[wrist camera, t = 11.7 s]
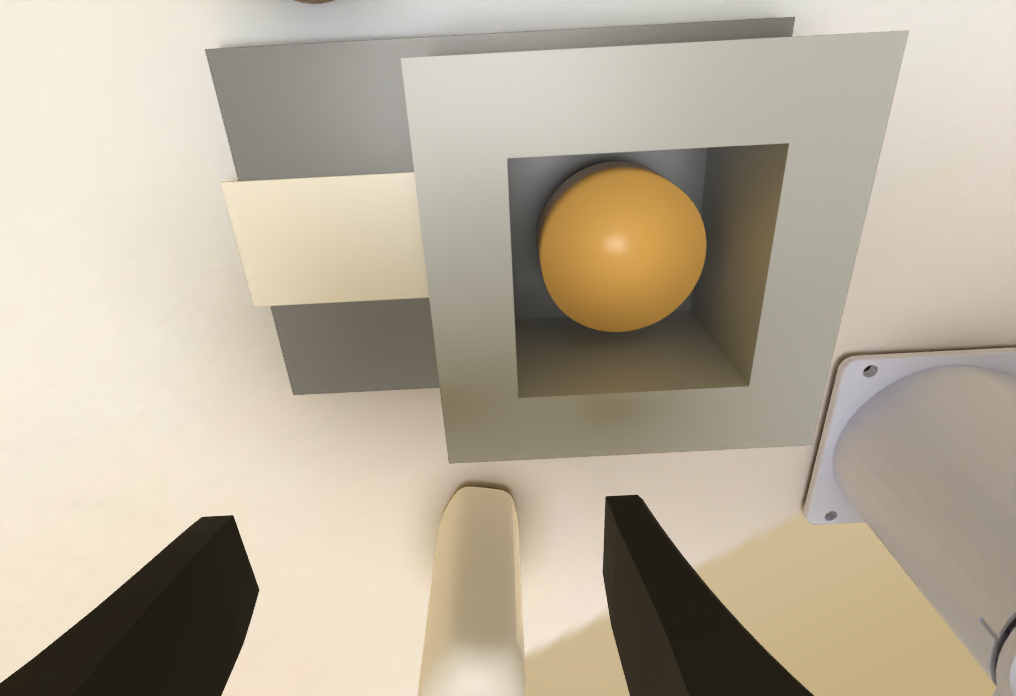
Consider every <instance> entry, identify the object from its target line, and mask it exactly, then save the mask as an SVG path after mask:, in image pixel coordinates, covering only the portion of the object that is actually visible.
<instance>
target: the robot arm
mask: <svg viewBox="0 0 1016 696" xmlns="http://www.w3.org/2000/svg"><path fill="white" fill-rule="evenodd" d="M870 365H871V367H870V369H869V370H868V371H866V372H863V371H864V369H865V368H866V367H868V366H870ZM828 512H830V513H828ZM803 515H804V516H805V518H806V519H807V521H808V522H809V523H811V524H815V525H816V524H817V525H819V524H838V523H857V522H866V523H867V524H868V525H869V527H870V528H871V529H872V531H873V532H874V533H875V534H876V536H877V537H878V538H879V539H880V541H881V542H882V543H883V544H884V546H885V547H886V548H887V549H888V550H889V552H890V553H891V554H892V556H893V557H894V558H895V559H896V560H897V562H898V563H899V564H900V566H901V567H902V568H903V569H904V571H905V572H906V573H907V575H908V576H909V577H910V578H911V580H912V581H913V582H914V583H915V585H916V586H917V587H918V588H919V590H920V591H921V592H922V593H923V595H924V596H925V597H926V598H927V600H928V601H929V602H930V603H931V605H932V606H933V607H934V608H935V610H936V611H937V612H938V613H939V615H940V616H941V617H942V618H943V619H944V621H945V622H946V623H947V624H948V626H949V627H950V629H951V630H952V631H953V632H954V633H955V635H956V636H957V637H958V638H959V640H960V641H961V642H962V644H963V645H964V646H965V647H966V648H967V650H968V651H969V652H970V654H971V655H972V656H973V657H974V659H975V660H976V661H977V662H978V664H979V665H980V666H981V667H982V668H983V670H984V671H985V672H986V674H987V675H988V676H989V677H990V679H991V680H992V681H993V683H994V684H995V685H996V689H995V692H994V693H993V695H992V696H1016V347H1011V348H992V349H973V350H953V351H934V352H915V353H896V354H876V355H857V356H851V357H848V358H846V359H844V360H843V361H842V362H841V363H840V365H839V367H838V371H837V375H836V379H835V383H834V387H833V391H832V395H831V399H830V404H829V408H828V412H827V416H826V420H825V424H824V428H823V432H822V436H821V441H820V445H819V449H818V453H817V457H816V461H815V465H814V469H813V473H812V478H811V482H810V486H809V490H808V494H807V498H806V502H805V506H804V511H803ZM603 577H604V583H605V590H606V596H607V602H608V608H609V614H610V620H611V626H612V630H613V634H614V637H615V641H616V645H617V648H618V652H619V656H620V660H621V664H622V668H623V671H624V675H625V679H626V682H627V686H628V690H629V693H630V696H814V695H813V694H812V693H811V692H809V691H808V690H807V689H806V688H805V687H804V686H803V685H802V684H801V683H800V682H798V680H796V679H795V678H794V677H793V676H792V675H791V674H790V673H789V672H788V671H787V670H786V669H785V668H784V667H783V666H782V665H781V664H780V663H779V662H778V661H776V659H775V658H773V656H771V655H770V654H769V653H768V652H767V651H766V650H765V649H764V648H763V646H762V645H760V643H759V642H758V641H757V640H756V639H755V638H754V637H753V636H752V635H751V634H750V633H749V632H748V631H747V630H746V629H745V628H744V627H743V626H742V625H741V624H740V623H739V621H738V620H737V619H736V618H735V617H734V616H733V615H732V614H731V612H729V610H728V609H727V608H726V607H725V606H724V605H723V604H722V603H721V601H720V600H719V599H718V598H717V597H716V596H715V594H714V593H713V592H712V591H711V590H710V589H709V587H708V586H707V585H706V584H705V583H704V582H703V580H702V579H701V578H700V576H699V575H698V574H697V573H696V571H695V570H694V569H693V568H692V567H691V565H690V564H689V563H688V562H687V560H686V559H685V558H684V557H683V555H682V554H681V553H680V551H679V550H678V549H677V547H676V546H675V545H674V543H673V542H672V541H671V539H670V538H669V537H668V535H667V534H666V533H665V531H664V530H663V529H662V527H661V526H660V524H659V523H658V522H657V520H656V519H655V517H654V516H653V514H652V513H651V511H650V510H649V508H648V507H647V505H646V504H645V502H644V501H643V499H642V498H640V497H639V496H638V495H625V496H606V501H605V528H604V555H603ZM258 593H259V588H258V585H257V582H256V579H255V576H254V573H253V571H252V568H251V565H250V562H249V559H248V556H247V553H246V551H245V548H244V545H243V542H242V539H241V536H240V533H239V531H238V528H237V525H236V522H235V519H234V516H233V515H231V516H211V517H201V518H200V519H199V520H198V521H196V522H195V523H194V524H193V525H191V526H190V527H189V528H188V529H187V530H185V531H184V532H183V533H182V534H181V535H180V536H178V537H177V538H176V539H175V540H174V541H173V542H171V543H170V544H169V545H168V546H167V547H166V548H165V549H163V550H162V551H161V552H160V553H159V554H158V555H157V556H155V557H154V558H153V559H152V560H151V561H150V562H149V563H147V564H146V565H145V566H144V567H143V568H142V569H141V570H139V571H138V572H137V573H136V574H135V575H134V576H132V577H131V578H130V579H129V580H128V581H127V582H125V583H124V584H123V585H122V586H121V587H120V588H119V589H117V590H116V591H115V592H114V593H113V594H112V595H110V596H109V597H108V598H107V599H106V600H105V601H103V602H102V603H101V604H100V605H99V606H98V607H96V608H95V609H94V610H93V611H91V612H90V613H89V614H88V615H87V616H85V617H84V618H83V619H82V620H80V621H79V622H78V623H77V624H75V625H74V626H73V627H72V628H70V629H69V630H68V631H67V632H65V633H64V634H63V635H62V636H61V637H59V638H58V639H57V640H56V641H54V642H53V643H52V644H51V645H49V646H48V647H47V648H46V649H44V650H43V651H42V652H41V653H39V654H38V655H37V656H36V657H34V658H33V659H32V660H31V661H29V662H28V663H27V664H25V665H24V666H23V667H21V668H20V669H19V670H17V671H16V672H15V673H13V674H12V675H11V676H9V677H8V678H7V679H5V680H4V681H3V682H1V683H0V696H221V695H222V692H223V690H224V688H225V686H226V683H227V681H228V679H229V676H230V674H231V672H232V669H233V667H234V665H235V662H236V660H237V658H238V655H239V653H240V650H241V648H242V646H243V643H244V640H245V637H246V634H247V630H248V627H249V624H250V621H251V618H252V614H253V610H254V607H255V603H256V600H257V596H258Z"/></svg>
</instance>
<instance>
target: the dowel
mask: <svg viewBox="0 0 1016 696" xmlns="http://www.w3.org/2000/svg"><path fill="white" fill-rule="evenodd" d="M295 1H299V2H303V3H311V4H316V3H326V2H331V1H334V0H295Z"/></svg>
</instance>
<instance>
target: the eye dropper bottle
mask: <svg viewBox="0 0 1016 696" xmlns="http://www.w3.org/2000/svg"><path fill="white" fill-rule="evenodd" d="M524 695H525V660H524V636H523V615H522V593H521V572H520V551H519V530H518V518H517V512H516V507H515V504H514V501H513V499H512V496H511V495H510V494H509V493H508V492H506V491H503V490H499V489H491V488H482V487H472V486H469V487H463V488H461V489H460V490H458V491H457V492H456V493H455V495H454V496H453V497H452V499H451V500H450V502H449V503H448V505H447V507H446V509H445V511H444V513H443V516H442V518H441V521H440V525H439V529H438V534H437V542H436V550H435V558H434V566H433V574H432V582H431V591H430V599H429V607H428V615H427V623H426V631H425V640H424V648H423V656H422V664H421V673H420V681H419V691H418V696H524Z"/></svg>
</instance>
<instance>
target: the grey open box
mask: <svg viewBox="0 0 1016 696" xmlns="http://www.w3.org/2000/svg"><path fill="white" fill-rule="evenodd" d="M794 20H795V17H786V18H768V19H749V20H731V21H713V22H695V23H676V24H658V25H640V26H621V27H603V28H585V29H567V30H548V31H530V32H512V33H493V34H475V35H457V36H439V37H420V38H402V39H384V40H365V41H347V42H329V43H311V44H292V45H274V46H256V47H238V48H219V49H205V52H206V56H207V60H208V63H209V67H210V71H211V75H212V79H213V83H214V87H215V91H216V95H217V99H218V103H219V106H220V110H221V114H222V118H223V122H224V126H225V130H226V134H227V138H228V142H229V146H230V149H231V153H232V157H233V161H234V165H235V169H236V173H237V177H238V181H231V182H221V186H222V190H223V194H224V197H225V201H226V205H227V209H228V212H229V216H230V220H231V223H232V227H233V231H234V234H235V238H236V242H237V246H238V249H239V253H240V257H241V260H242V264H243V268H244V271H245V275H246V279H247V283H248V286H249V290H250V294H251V297H252V301H253V305H254V307H258V306H271V310H272V314H273V318H274V321H275V325H276V329H277V333H278V337H279V341H280V345H281V349H282V353H283V357H284V361H285V364H286V368H287V372H288V376H289V380H290V384H291V388H292V392H293V395H304V394H323V393H342V392H362V391H381V390H400V389H420V388H439V387H440V393H441V401H442V409H443V418H444V426H445V435H446V443H447V451H448V460H449V464H450V463H470V462H489V461H509V460H528V459H548V458H568V457H587V456H607V455H626V454H646V453H666V452H685V451H705V450H724V449H744V448H763V447H783V446H803V445H812V441H813V437H814V433H815V428H816V424H817V420H818V416H819V411H820V407H821V403H822V399H823V394H824V390H825V386H826V382H827V377H828V373H829V369H830V365H831V360H832V356H833V352H834V348H835V343H836V339H837V335H838V331H839V326H840V322H841V318H842V314H843V309H844V305H845V301H846V297H847V292H848V288H849V284H850V280H851V275H852V271H853V267H854V263H855V258H856V254H857V250H858V246H859V241H860V237H861V233H862V229H863V224H864V220H865V216H866V212H867V207H868V203H869V199H870V195H871V190H872V186H873V182H874V178H875V173H876V169H877V165H878V161H879V156H880V152H881V148H882V144H883V139H884V135H885V131H886V127H887V122H888V118H889V114H890V110H891V105H892V101H893V97H894V93H895V88H896V84H897V80H898V76H899V71H900V67H901V63H902V59H903V54H904V50H905V46H906V42H907V37H908V33H909V30H907V31H889V32H870V33H852V34H834V35H815V36H797V37H792V33H793V27H794ZM611 161H626V162H632V163H637V164H640V165H643V166H646V167H648V168H650V169H652V170H654V171H655V172H657V173H658V174H660V175H661V176H663V177H664V178H666V179H667V180H668V181H670V182H671V183H673V184H674V185H675V186H677V187H678V188H679V189H681V190H682V191H683V192H684V193H685V194H686V195H687V196H688V197H689V198H690V200H691V201H692V202H693V203H694V205H695V206H696V208H697V210H698V212H699V213H700V216H701V218H702V221H703V224H704V228H705V233H706V256H705V262H704V266H703V269H702V272H701V275H700V277H699V279H698V281H697V283H696V285H695V287H694V288H693V290H692V292H691V293H690V294H689V296H688V297H687V298H686V299H685V301H684V302H683V303H682V304H681V305H680V306H679V307H678V308H677V309H675V310H674V311H673V312H672V313H670V314H669V315H668V316H666V317H665V318H663V319H661V320H660V321H658V322H656V323H654V324H652V325H649V326H646V327H644V328H641V329H636V330H632V331H625V332H607V331H599V330H596V329H592V328H589V327H586V326H584V325H581V324H580V323H578V322H576V321H574V320H573V319H571V318H570V317H569V316H567V315H566V314H565V313H564V312H563V311H562V310H561V309H560V308H559V307H558V306H557V305H556V303H555V302H554V301H553V299H552V297H551V296H550V294H549V292H548V290H547V287H546V285H545V282H544V278H543V274H542V269H541V265H540V260H539V255H538V249H537V231H538V226H539V221H540V218H541V215H542V212H543V210H544V208H545V206H546V204H547V202H548V201H549V199H550V198H551V196H552V195H553V193H554V192H555V191H556V190H557V189H558V187H559V186H561V185H562V184H563V183H564V182H565V181H566V180H567V179H568V178H570V177H571V176H573V175H574V174H576V173H577V172H579V171H581V170H583V169H585V168H587V167H590V166H592V165H595V164H599V163H603V162H611Z"/></svg>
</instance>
